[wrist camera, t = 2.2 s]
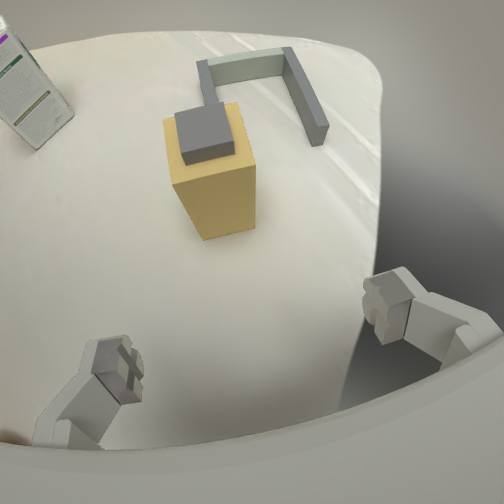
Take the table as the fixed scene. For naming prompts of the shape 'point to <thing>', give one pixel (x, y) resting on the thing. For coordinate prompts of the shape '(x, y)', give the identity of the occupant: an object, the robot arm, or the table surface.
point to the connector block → (212, 168)
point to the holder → (266, 66)
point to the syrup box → (28, 92)
